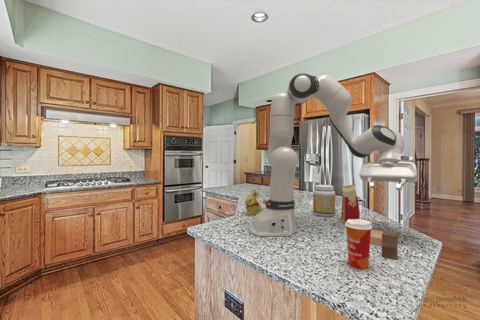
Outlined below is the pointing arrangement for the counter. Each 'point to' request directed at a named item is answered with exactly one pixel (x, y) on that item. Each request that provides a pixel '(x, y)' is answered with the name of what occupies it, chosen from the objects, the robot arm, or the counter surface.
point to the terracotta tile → (376, 237)
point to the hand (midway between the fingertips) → (384, 188)
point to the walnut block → (389, 245)
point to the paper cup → (358, 242)
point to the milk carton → (350, 204)
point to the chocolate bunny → (253, 203)
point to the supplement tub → (324, 200)
